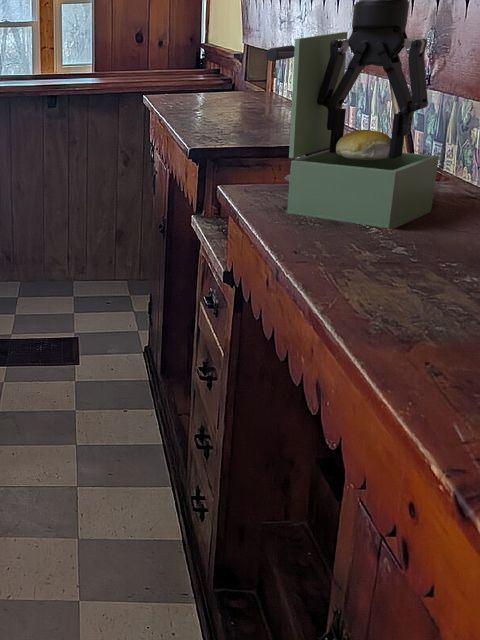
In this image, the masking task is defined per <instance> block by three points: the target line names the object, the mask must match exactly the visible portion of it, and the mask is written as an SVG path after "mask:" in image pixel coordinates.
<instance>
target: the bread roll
mask: <svg viewBox="0 0 480 640" xmlns="http://www.w3.org/2000/svg"><path fill="white" fill-rule="evenodd" d="M390 145H391V137H390V136H389V135H388V134H386V133H384V132H381V131H378V130H372V129H357V130H352V131H350V132H348V133H346V134H344V135H343V137H342V138H340V139H339V141H338V143H337V144H336V153H337V154H338V155H340V156H342V157H345V158H348V159H353V160H380V159H386V158H388V157H389V153H390Z"/></svg>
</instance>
